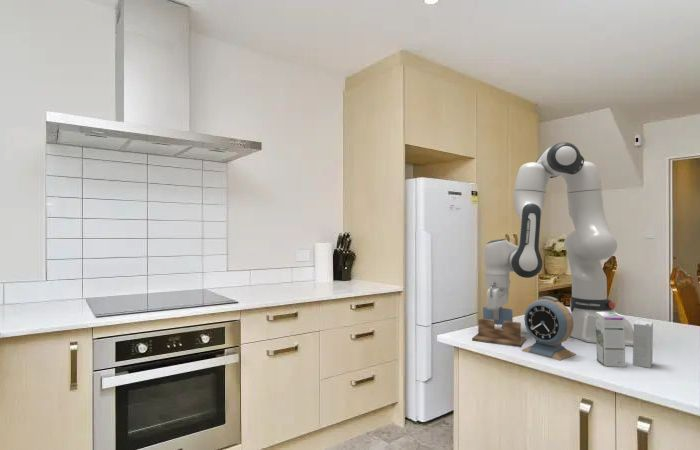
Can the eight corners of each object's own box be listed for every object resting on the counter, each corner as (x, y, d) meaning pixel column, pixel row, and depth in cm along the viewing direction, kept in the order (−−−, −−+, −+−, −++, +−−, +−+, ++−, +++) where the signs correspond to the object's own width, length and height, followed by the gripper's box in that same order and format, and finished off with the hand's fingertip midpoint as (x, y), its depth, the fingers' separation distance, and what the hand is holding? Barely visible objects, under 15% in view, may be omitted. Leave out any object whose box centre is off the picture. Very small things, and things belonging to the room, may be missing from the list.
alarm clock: (518, 350, 132) (518, 295, 133) (535, 345, 138) (535, 292, 138) (563, 361, 121) (562, 301, 121) (579, 355, 127) (578, 298, 127)
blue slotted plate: (512, 333, 153) (512, 309, 154) (511, 334, 152) (511, 309, 152) (484, 329, 159) (484, 306, 159) (483, 330, 157) (482, 307, 158)
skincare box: (634, 360, 122) (634, 319, 122) (653, 363, 119) (653, 321, 119) (632, 365, 117) (631, 322, 117) (651, 368, 114) (651, 325, 114)
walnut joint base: (526, 339, 145) (525, 320, 145) (520, 347, 136) (520, 326, 136) (480, 333, 153) (479, 315, 154) (472, 340, 144) (472, 321, 144)
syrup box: (626, 367, 115) (625, 315, 116) (603, 366, 116) (602, 314, 117) (617, 361, 121) (617, 311, 121) (595, 360, 122) (595, 311, 122)
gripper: (499, 285, 145) (500, 324, 145) (510, 279, 163) (511, 314, 162) (481, 284, 149) (482, 322, 148) (494, 278, 166) (495, 313, 166)
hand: (497, 318), depth 156 cm, fingers closed on blue slotted plate, 2 cm apart
